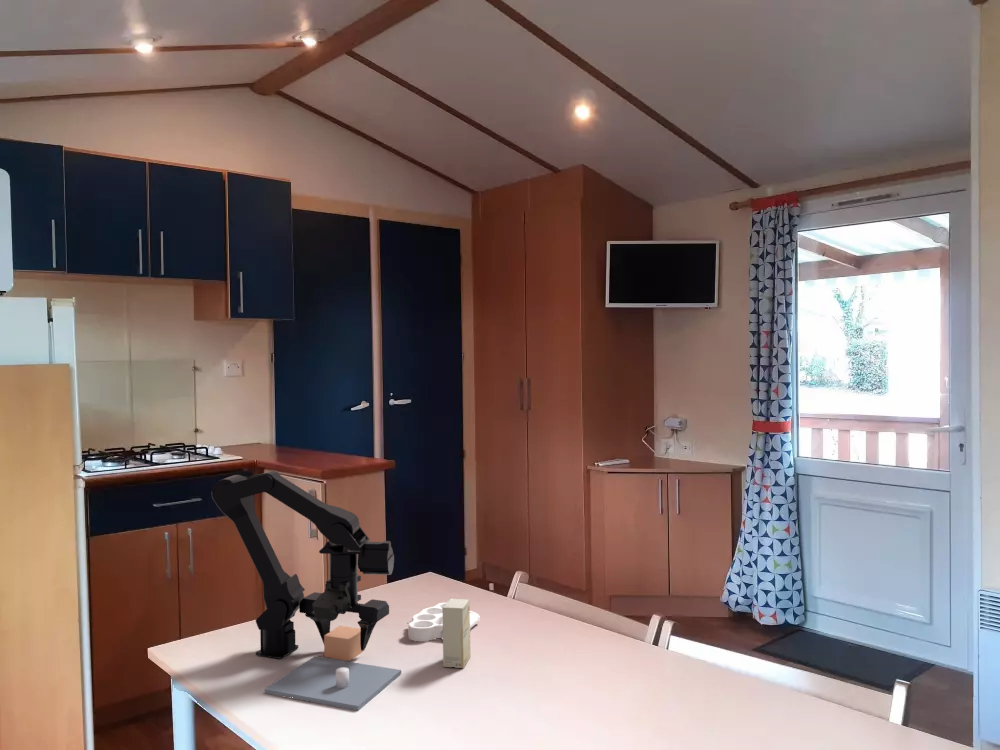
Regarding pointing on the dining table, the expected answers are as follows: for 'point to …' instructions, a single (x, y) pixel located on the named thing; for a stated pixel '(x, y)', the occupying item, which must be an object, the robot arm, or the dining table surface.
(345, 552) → the robot arm
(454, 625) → the skincare box
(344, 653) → the orange block
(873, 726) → the dining table surface
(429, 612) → the white egg tray
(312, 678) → the base plate
